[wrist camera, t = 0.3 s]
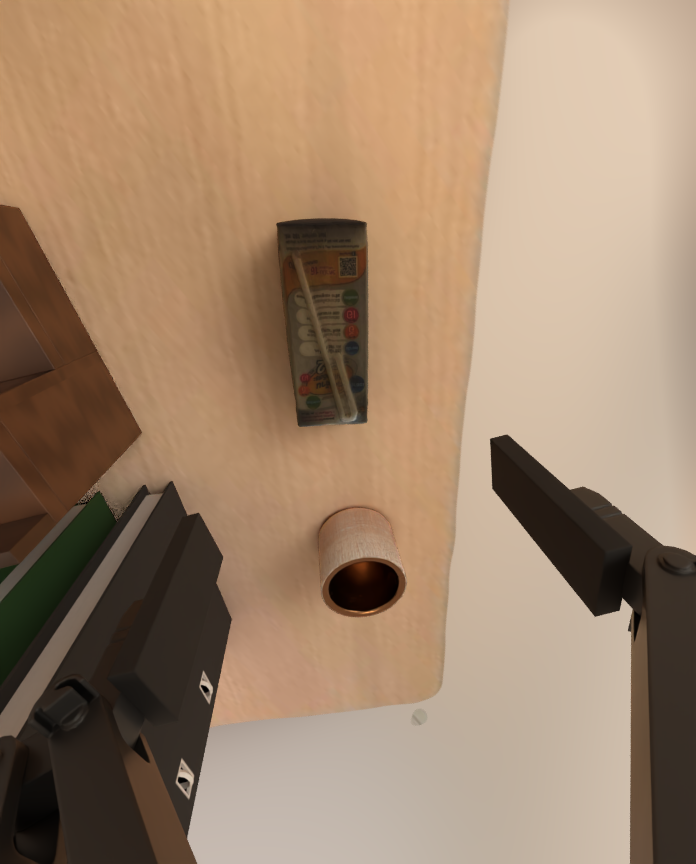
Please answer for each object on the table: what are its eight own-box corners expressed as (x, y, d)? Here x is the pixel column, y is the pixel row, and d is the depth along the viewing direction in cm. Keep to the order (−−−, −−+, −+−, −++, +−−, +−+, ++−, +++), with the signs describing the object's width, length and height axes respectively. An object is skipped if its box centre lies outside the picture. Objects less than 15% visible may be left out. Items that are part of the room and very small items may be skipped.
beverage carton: (296, 408, 42) (295, 433, 36) (277, 223, 34) (272, 215, 28) (362, 404, 43) (371, 427, 37) (360, 221, 35) (371, 213, 29)
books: (63, 496, 44) (-375, 931, 16) (183, 479, 45) (-27, 864, 16) (142, 633, 56) (-24, 1018, 28) (235, 618, 57) (166, 977, 29)
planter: (403, 516, 52) (423, 567, 43) (371, 568, 56) (384, 625, 47) (335, 496, 49) (341, 546, 40) (306, 552, 53) (307, 609, 44)
